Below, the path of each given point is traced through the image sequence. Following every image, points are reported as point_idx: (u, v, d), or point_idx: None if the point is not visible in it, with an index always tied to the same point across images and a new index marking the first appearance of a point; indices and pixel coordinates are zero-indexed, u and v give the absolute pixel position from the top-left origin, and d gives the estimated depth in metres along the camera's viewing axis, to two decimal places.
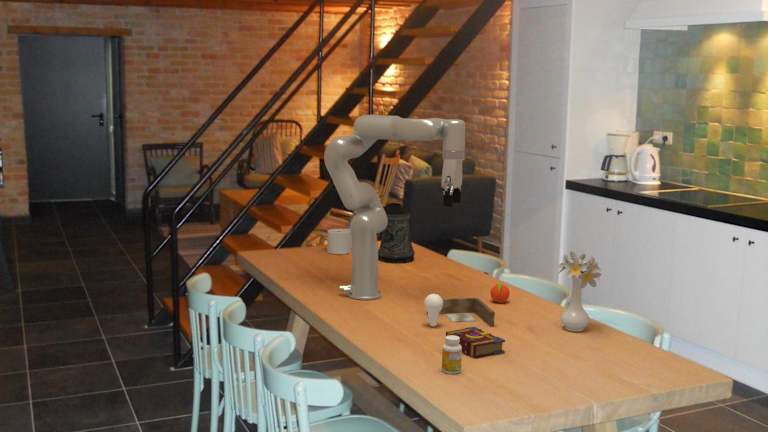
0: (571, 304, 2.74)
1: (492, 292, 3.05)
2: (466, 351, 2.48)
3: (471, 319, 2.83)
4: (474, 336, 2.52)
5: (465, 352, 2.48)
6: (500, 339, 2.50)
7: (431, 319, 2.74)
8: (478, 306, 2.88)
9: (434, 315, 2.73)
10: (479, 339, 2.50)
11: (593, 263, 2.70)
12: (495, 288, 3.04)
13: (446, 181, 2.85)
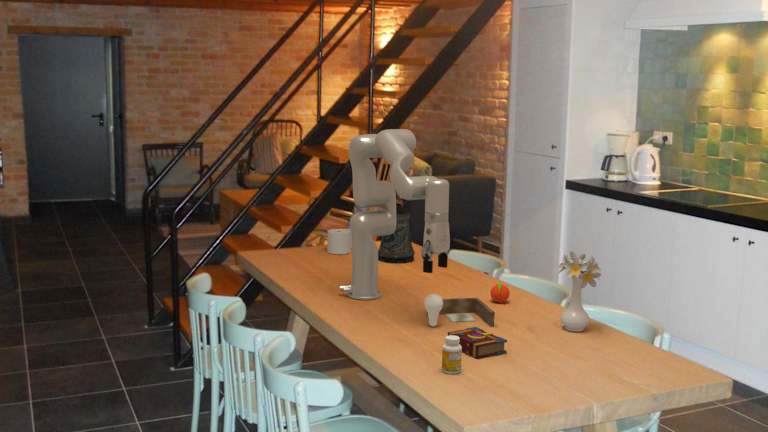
0: (571, 304, 2.74)
1: (492, 292, 3.05)
2: (468, 351, 2.48)
3: (471, 319, 2.83)
4: (476, 336, 2.52)
5: (467, 352, 2.48)
6: (502, 339, 2.50)
7: (431, 319, 2.74)
8: (478, 306, 2.88)
9: (434, 315, 2.73)
10: (481, 339, 2.50)
11: (593, 263, 2.70)
12: (495, 288, 3.04)
13: None
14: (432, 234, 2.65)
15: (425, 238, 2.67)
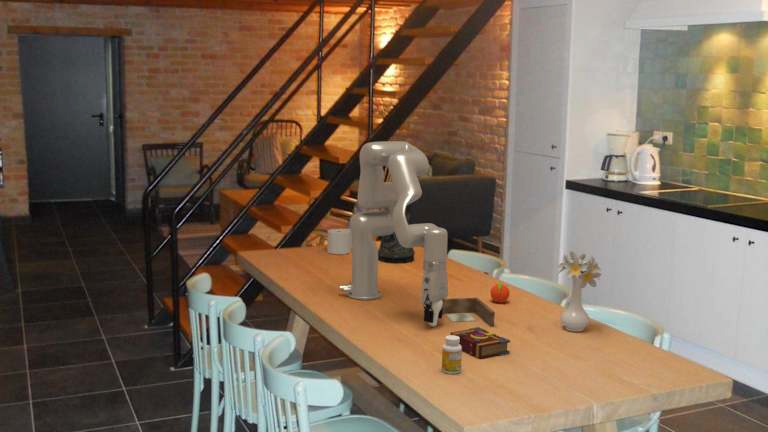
0: (571, 304, 2.74)
1: (492, 292, 3.05)
2: (471, 352, 2.47)
3: (471, 319, 2.83)
4: (479, 337, 2.52)
5: (470, 353, 2.48)
6: (505, 339, 2.50)
7: None
8: (478, 306, 2.88)
9: (433, 316, 2.73)
10: (484, 340, 2.50)
11: (593, 263, 2.70)
12: (495, 288, 3.04)
13: None
14: (430, 283, 2.68)
15: (423, 286, 2.70)
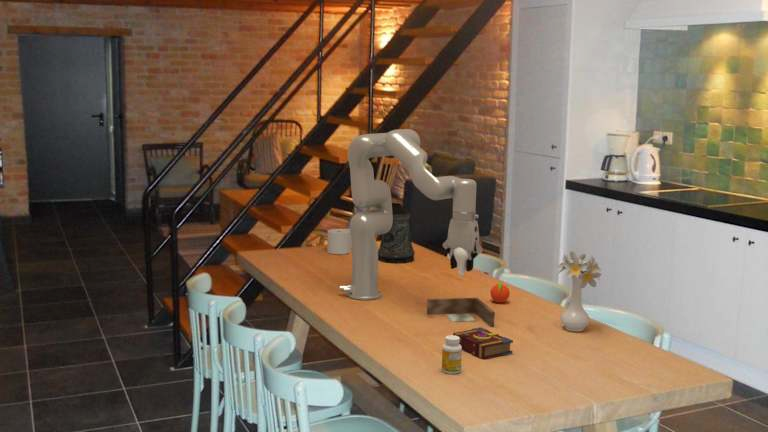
0: (571, 304, 2.74)
1: (492, 292, 3.05)
2: (474, 352, 2.47)
3: (471, 319, 2.83)
4: (482, 337, 2.51)
5: (473, 353, 2.48)
6: (508, 340, 2.50)
7: (465, 268, 2.82)
8: (478, 306, 2.88)
9: None
10: (487, 340, 2.50)
11: (593, 263, 2.70)
12: (495, 288, 3.04)
13: None
14: (478, 231, 2.79)
15: (474, 236, 2.77)
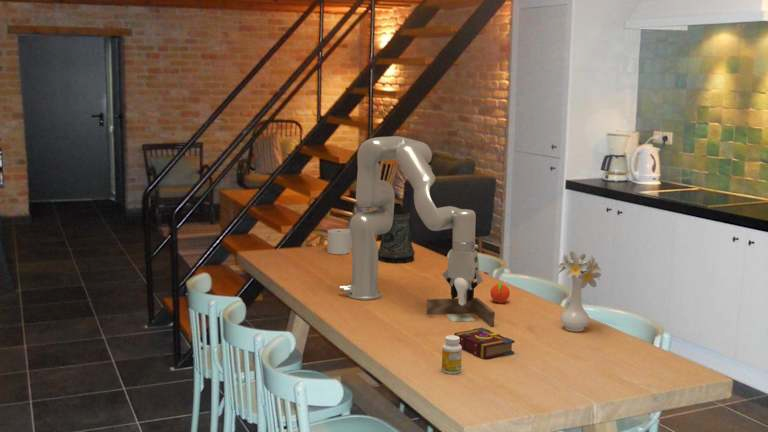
0: (571, 304, 2.74)
1: (492, 292, 3.05)
2: (476, 352, 2.47)
3: (471, 319, 2.83)
4: (483, 337, 2.51)
5: (475, 353, 2.47)
6: (510, 340, 2.50)
7: None
8: (478, 306, 2.88)
9: None
10: (489, 340, 2.49)
11: (593, 263, 2.70)
12: (495, 288, 3.04)
13: None
14: (478, 261, 2.81)
15: (474, 266, 2.79)
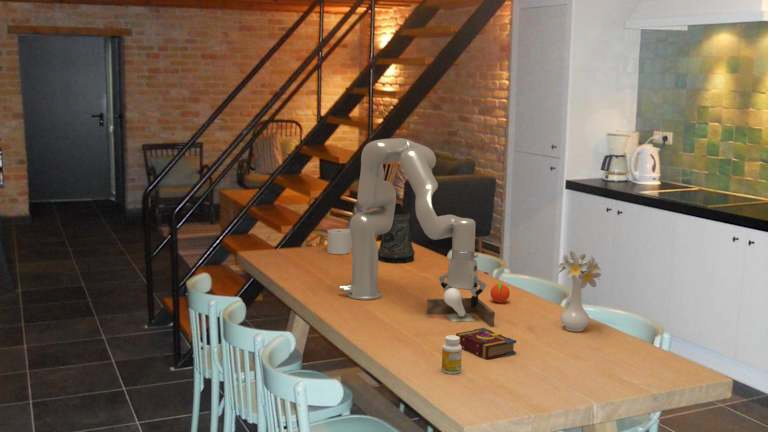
0: (571, 304, 2.74)
1: (492, 292, 3.05)
2: (478, 352, 2.47)
3: (471, 319, 2.83)
4: (485, 337, 2.51)
5: (477, 353, 2.47)
6: (511, 340, 2.49)
7: (463, 308, 2.84)
8: (478, 306, 2.88)
9: None
10: (490, 340, 2.49)
11: (593, 263, 2.70)
12: (495, 288, 3.04)
13: None
14: (477, 269, 2.81)
15: (473, 275, 2.79)
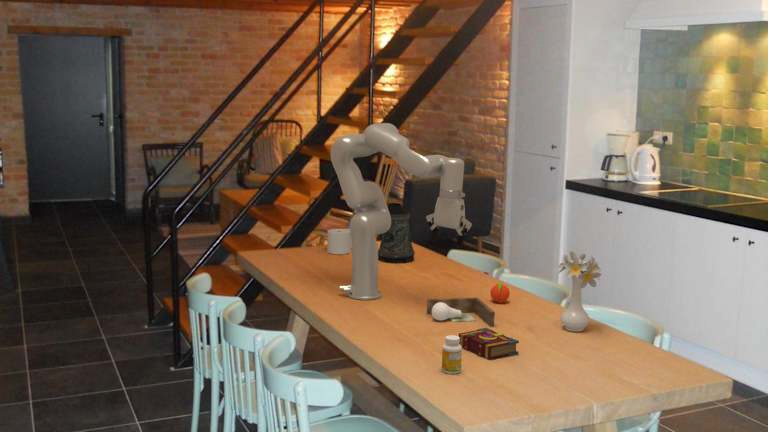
0: (571, 304, 2.74)
1: (492, 292, 3.05)
2: (480, 353, 2.47)
3: (471, 319, 2.83)
4: (488, 337, 2.51)
5: (479, 354, 2.47)
6: (514, 340, 2.49)
7: (456, 310, 2.83)
8: (478, 306, 2.88)
9: (452, 308, 2.83)
10: (493, 340, 2.49)
11: (593, 263, 2.70)
12: (495, 288, 3.04)
13: None
14: (464, 209, 2.85)
15: (460, 214, 2.83)
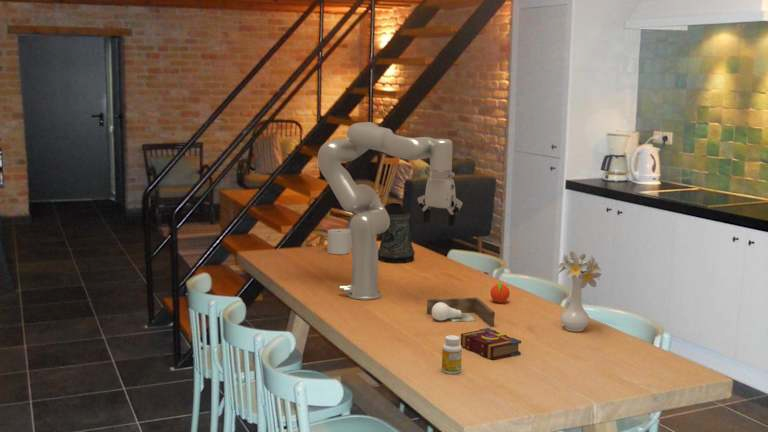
0: (571, 304, 2.74)
1: (492, 292, 3.05)
2: (483, 353, 2.47)
3: (471, 319, 2.83)
4: (490, 337, 2.51)
5: (482, 354, 2.47)
6: (516, 340, 2.49)
7: (456, 310, 2.83)
8: (478, 306, 2.88)
9: (452, 308, 2.83)
10: (495, 340, 2.49)
11: (593, 263, 2.70)
12: (495, 288, 3.04)
13: (421, 196, 2.95)
14: (454, 189, 2.89)
15: (450, 194, 2.87)
